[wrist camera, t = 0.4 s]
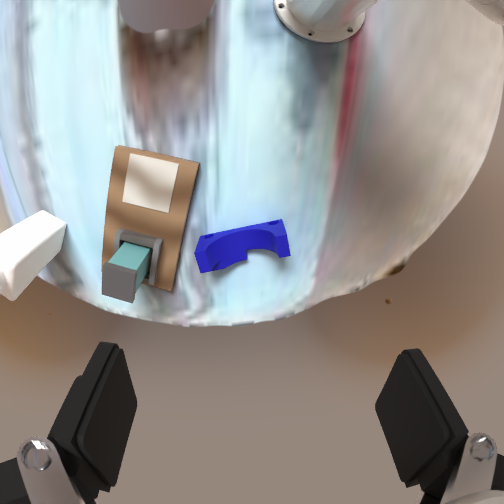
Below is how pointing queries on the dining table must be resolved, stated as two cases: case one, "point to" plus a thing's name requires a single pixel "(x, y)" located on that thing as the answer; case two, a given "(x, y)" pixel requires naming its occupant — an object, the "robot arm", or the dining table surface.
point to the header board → (149, 208)
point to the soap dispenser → (28, 251)
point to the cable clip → (240, 244)
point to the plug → (126, 271)
